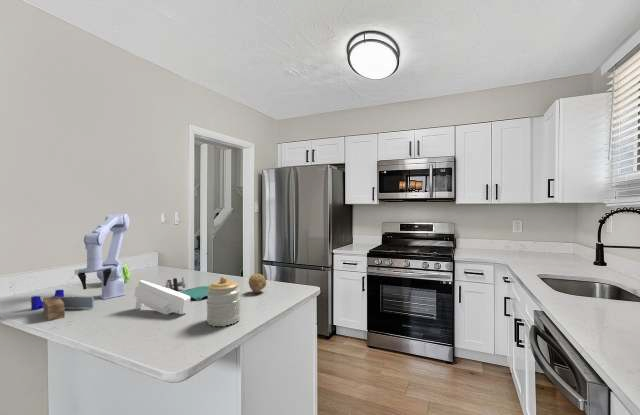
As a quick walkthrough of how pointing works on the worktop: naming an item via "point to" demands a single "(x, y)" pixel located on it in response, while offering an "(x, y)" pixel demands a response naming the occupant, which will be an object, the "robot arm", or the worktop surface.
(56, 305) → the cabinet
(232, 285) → the jar
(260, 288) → the natural sponge
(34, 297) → the cable clip
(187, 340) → the worktop surface
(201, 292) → the teal cloth
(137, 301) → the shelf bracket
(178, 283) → the bike brake
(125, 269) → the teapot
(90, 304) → the door
